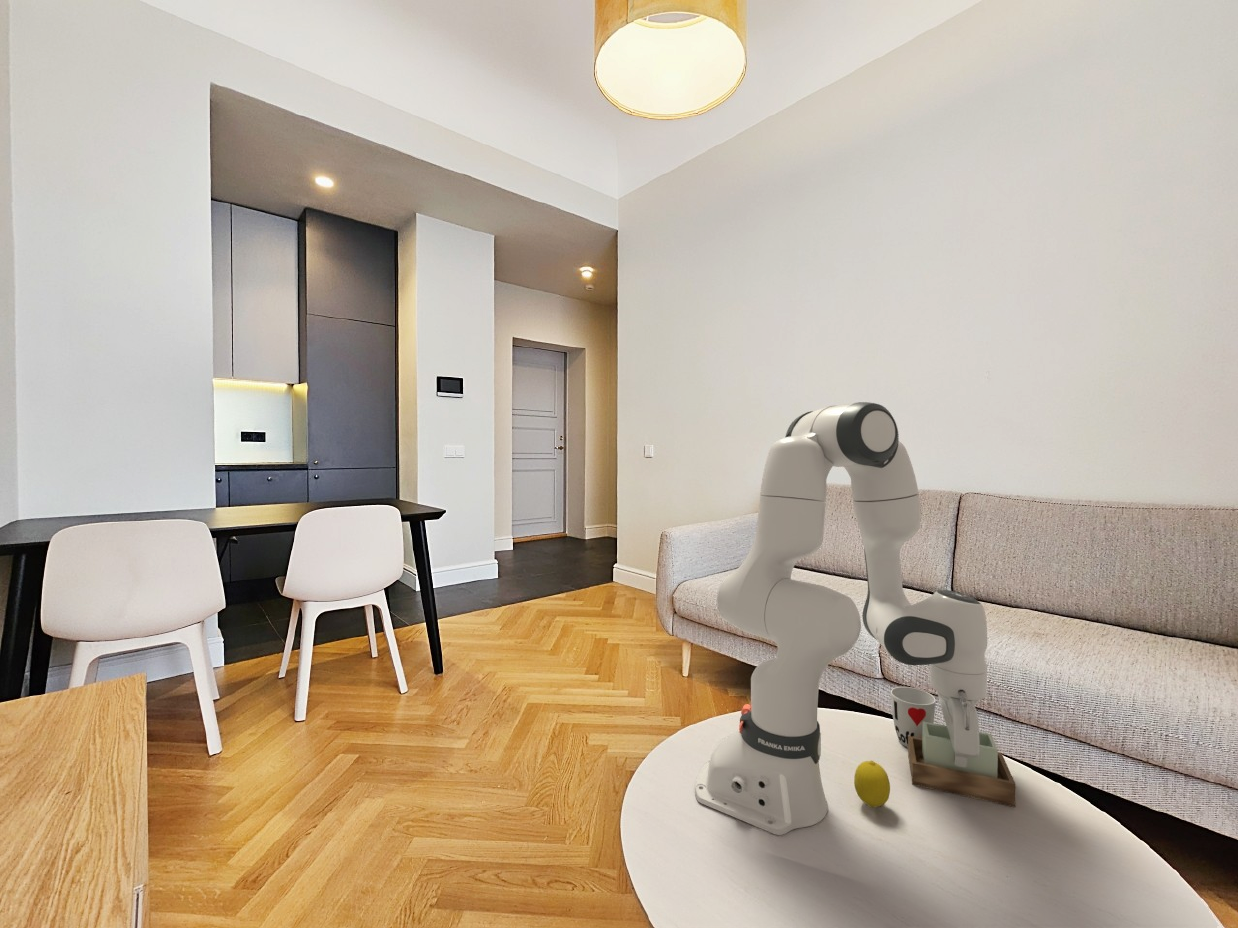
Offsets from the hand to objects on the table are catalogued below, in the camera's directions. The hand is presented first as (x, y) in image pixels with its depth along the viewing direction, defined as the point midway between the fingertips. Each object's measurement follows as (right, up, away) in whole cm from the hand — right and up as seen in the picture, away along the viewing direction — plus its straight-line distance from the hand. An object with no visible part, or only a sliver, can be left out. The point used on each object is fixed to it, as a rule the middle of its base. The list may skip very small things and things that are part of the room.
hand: (957, 754), depth 98 cm
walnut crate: (0, -5, 0) cm, 5 cm away
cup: (-1, -5, +12) cm, 13 cm away
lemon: (-19, -5, -7) cm, 21 cm away
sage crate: (0, -2, 0) cm, 2 cm away
